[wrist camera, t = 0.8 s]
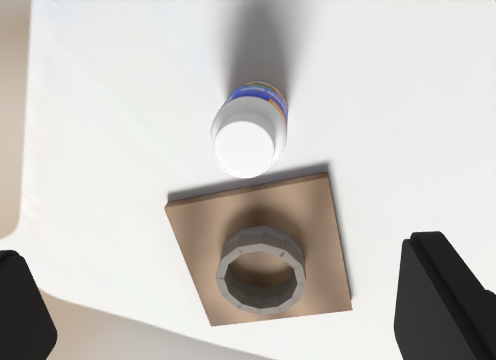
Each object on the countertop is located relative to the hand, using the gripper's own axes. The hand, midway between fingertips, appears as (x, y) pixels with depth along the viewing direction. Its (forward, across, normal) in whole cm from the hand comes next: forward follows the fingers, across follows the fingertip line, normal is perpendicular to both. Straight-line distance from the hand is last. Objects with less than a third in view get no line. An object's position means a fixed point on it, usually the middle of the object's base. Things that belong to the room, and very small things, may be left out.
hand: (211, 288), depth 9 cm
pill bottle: (+24, 0, +2) cm, 24 cm away
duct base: (+24, +1, +17) cm, 29 cm away
